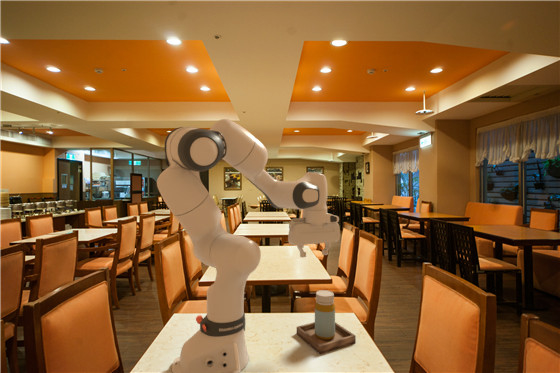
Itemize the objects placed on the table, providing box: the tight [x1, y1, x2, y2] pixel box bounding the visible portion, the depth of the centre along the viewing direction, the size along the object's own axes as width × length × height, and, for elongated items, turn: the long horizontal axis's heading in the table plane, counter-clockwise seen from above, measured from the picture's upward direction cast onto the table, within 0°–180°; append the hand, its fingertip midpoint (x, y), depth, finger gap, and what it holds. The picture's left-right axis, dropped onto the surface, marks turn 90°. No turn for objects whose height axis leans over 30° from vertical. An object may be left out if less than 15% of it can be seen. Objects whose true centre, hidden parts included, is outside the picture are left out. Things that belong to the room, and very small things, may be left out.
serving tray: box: [296, 321, 357, 355], centre depth 105 cm, size 15×15×2 cm
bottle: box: [314, 289, 336, 340], centre depth 105 cm, size 7×7×15 cm
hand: (314, 255), depth 108 cm, fingers open, 8 cm apart
